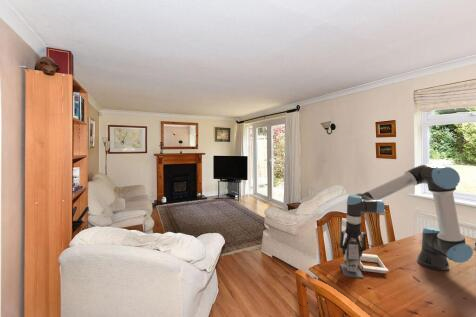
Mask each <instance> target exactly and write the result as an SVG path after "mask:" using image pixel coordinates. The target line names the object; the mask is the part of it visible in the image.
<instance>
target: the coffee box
mask: <svg viewBox="0 0 476 317" xmlns="http://www.w3.org/2000/svg"><path fill="white" fill-rule="evenodd" d="M346 238H347V237H345V238H344V241H345V240H346ZM360 244H361V242H360V243H358V242H357V241H356V239H355V238H351V239H350V240H349V242H347V247H346V249H347V259H346V261H345V259H344V258H343V259H344V260H343V261H344V262H343V264H345V266H346V268H347V270H348V271H353V272H359V269H360V247H362V244H361V245H360Z"/></svg>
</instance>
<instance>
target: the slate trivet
mask: <svg viewBox="0 0 476 317" xmlns="http://www.w3.org/2000/svg"><path fill="white" fill-rule="evenodd" d="M339 267H340V268H341V271H342V274H343V275H344V277H348V278H349V277H351V278H358V279H364V277H365V276H364V275H363V274H362V270H361V268H359V272H353V271H348V270H347V268H346V266H345V264H344V263H340V264H339Z"/></svg>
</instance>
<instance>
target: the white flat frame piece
mask: <svg viewBox="0 0 476 317" xmlns="http://www.w3.org/2000/svg"><path fill="white" fill-rule="evenodd" d="M361 261H363V262H369V263H378V265H379V266H371V265H363V263H362V262H361ZM359 269H360V271H361V272H362V271H363V272H372V273H379V274H387V272H390V271H389V269H388V268H387V267H386V266H385V265H384V263H383V261H382V260H381V259H380V258H379V256H378V255H377V254H369V253H362V256H360V267H359Z"/></svg>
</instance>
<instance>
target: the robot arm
mask: <svg viewBox="0 0 476 317" xmlns="http://www.w3.org/2000/svg"><path fill="white" fill-rule="evenodd" d="M460 181H461V176H460V174H459V172H458V171H456V169H455V168H452V167H450V166H446V165H439V164H432V163H431V164H430V163H425V164H420V165H417V166H415V167H413V168H411V169H408V170H405V171H404V173H403V174H402V175H400V176H397V177H395V178H393V179H391V180H389V181H387V182H385V183H383V184H380V185H379V186H376V187H374V188H372V189H369V190H368V191H365V192H363V193H359V192H358V193H355V194H351V195H350V194H349V195H348V196H347V199H346V200H347V201H346V224H345V229H344V230H340V239H339V243H338V244H339V248H340V249H342V255H343V259H345V261H346V259H347V249H346V247H347V242H349V240H350V239H351V238H353V239H356V241H357V242H358V243H360V245H361V247H360V256H362V254H363V252H364V251H367V242H366V238H367V237H366V236H367V234H366V232H363V231H361V228H362V227H361V225H362V213H364V214H365V213H366V214H382V213H384V212H385V208H386V207H385V206H386V205H385V203H384V201H383V200H382V199H385V198H387V197H389V196H391V195H393V194H395V193H398V192H400V191H402V190H404V189H406V188H408V187H411V186H418V185H421V184H427V188H428V191H429V192H430V193H432V196H433V202H434V207H435V213H436V218H437V223H438V224H437V225H438V227H433V226H432V227H431V226H425V227H424V228H423V229H422V236H421V239H422V240H421V250H420V251H419V254H418V255H417V259H416V261H417V263H419V264H420V265H421V266H423V267H425V268H428V269H432V270H435V271H448V270H449V267H450V265H449V264H450V263H449V261H452V262H454V263H457V264H462V263H466V262H468V261H469V260H470V259H471V258H472V256H473V254H474V250H473V248H472V247H471V246H470V245H469V244H467V243H466V238H465V237H466V236H465V235H464V234H462V233H461V230H460V225H459V220H458V214H457V209H456V202H455V198H454V192H455V191H457V186H458V185H459V183H460ZM345 235H346V237H345ZM360 236H361V242H362V243H361V242H360V238H359V237H360ZM344 237H345V238H346V240H345V238H344ZM448 260H449V261H448Z"/></svg>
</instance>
